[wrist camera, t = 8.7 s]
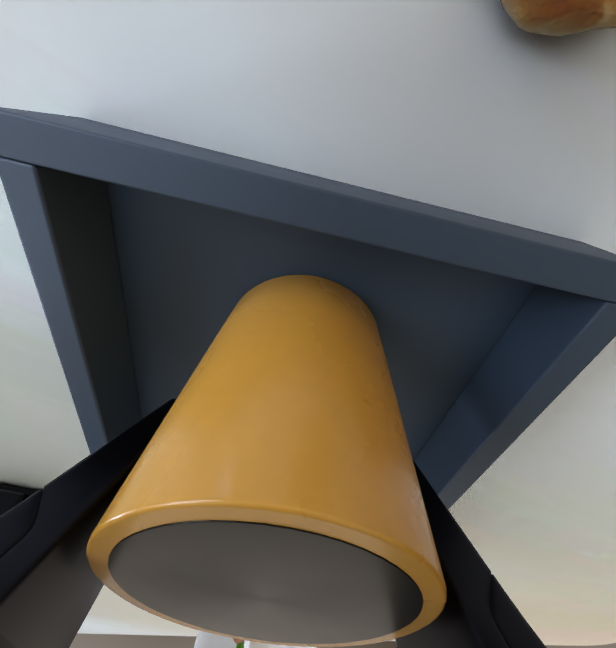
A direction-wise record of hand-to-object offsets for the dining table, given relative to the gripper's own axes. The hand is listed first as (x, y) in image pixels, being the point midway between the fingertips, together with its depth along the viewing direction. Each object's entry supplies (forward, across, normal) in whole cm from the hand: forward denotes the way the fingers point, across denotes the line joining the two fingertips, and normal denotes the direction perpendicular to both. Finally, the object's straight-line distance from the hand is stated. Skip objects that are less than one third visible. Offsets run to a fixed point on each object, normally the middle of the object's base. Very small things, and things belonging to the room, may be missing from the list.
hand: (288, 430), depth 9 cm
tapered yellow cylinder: (0, 0, +3) cm, 3 cm away
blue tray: (+5, 0, +4) cm, 6 cm away
